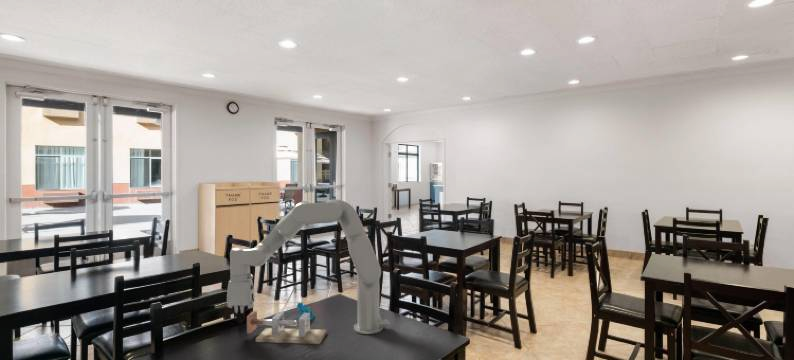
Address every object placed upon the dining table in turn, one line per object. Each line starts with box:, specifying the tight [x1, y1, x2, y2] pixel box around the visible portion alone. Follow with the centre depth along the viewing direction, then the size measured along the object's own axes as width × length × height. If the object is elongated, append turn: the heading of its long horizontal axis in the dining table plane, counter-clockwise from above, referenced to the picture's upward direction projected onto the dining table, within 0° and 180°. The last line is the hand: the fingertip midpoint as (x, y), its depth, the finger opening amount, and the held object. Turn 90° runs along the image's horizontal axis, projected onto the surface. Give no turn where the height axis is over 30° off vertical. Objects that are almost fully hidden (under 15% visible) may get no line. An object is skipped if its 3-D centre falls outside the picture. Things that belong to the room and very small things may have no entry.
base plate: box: [255, 327, 327, 345], centre depth 160 cm, size 26×10×2 cm, turn 86°
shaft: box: [246, 310, 298, 334], centre depth 160 cm, size 20×6×7 cm, turn 86°
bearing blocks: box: [271, 311, 311, 338], centre depth 160 cm, size 14×7×8 cm, turn 86°
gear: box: [296, 302, 315, 321], centre depth 180 cm, size 11×6×10 cm
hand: (240, 321), depth 161 cm, fingers closed
